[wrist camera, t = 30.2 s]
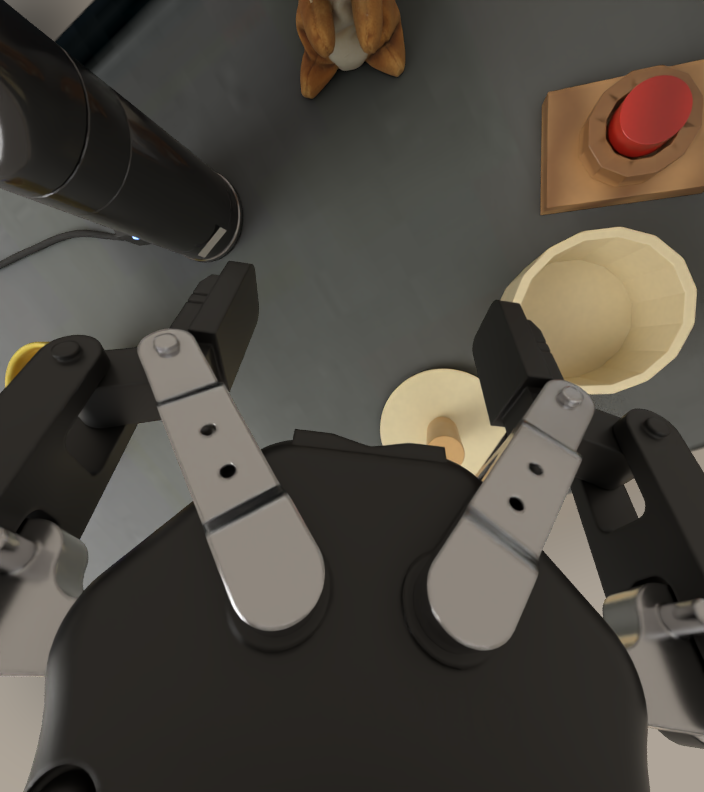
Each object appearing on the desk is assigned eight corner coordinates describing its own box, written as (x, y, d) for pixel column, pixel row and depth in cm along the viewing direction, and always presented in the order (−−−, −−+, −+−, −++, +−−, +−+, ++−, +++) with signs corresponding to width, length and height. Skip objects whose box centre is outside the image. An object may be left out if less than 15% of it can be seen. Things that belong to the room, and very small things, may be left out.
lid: (384, 484, 38) (370, 523, 29) (379, 370, 36) (363, 378, 28) (506, 488, 35) (530, 533, 26) (507, 365, 33) (532, 371, 25)
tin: (494, 386, 34) (510, 396, 27) (494, 262, 32) (511, 239, 25) (633, 381, 31) (690, 392, 24) (640, 245, 29) (702, 215, 23)
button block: (540, 215, 31) (553, 199, 27) (541, 105, 30) (555, 74, 26) (701, 193, 28) (738, 172, 25) (709, 71, 27) (749, 31, 23)
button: (606, 162, 27) (618, 149, 25) (608, 100, 26) (621, 82, 24) (673, 151, 26) (690, 137, 24) (677, 86, 25) (695, 67, 23)
